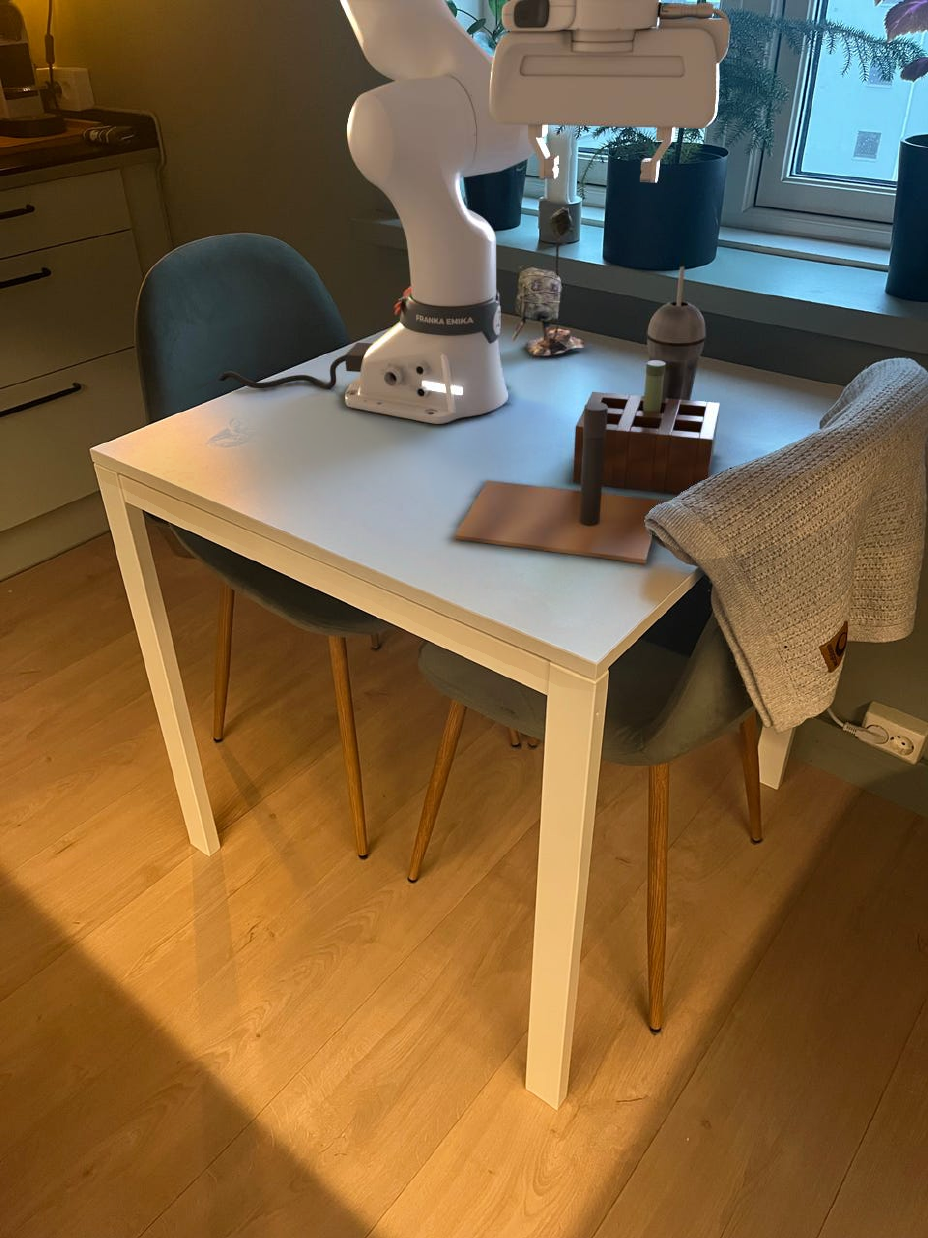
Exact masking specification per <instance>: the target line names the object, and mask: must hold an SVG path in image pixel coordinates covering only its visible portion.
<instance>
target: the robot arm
mask: <svg viewBox="0 0 928 1238" xmlns="http://www.w3.org/2000/svg"><path fill="white" fill-rule="evenodd" d="M339 1H340V3H341V6H342V8H343V10H344V13H345V15H346V17H347V19H348V21H349V23H350V26H351V28H352V30H353V33H354V35H355V37H356V39H357V42H358V44H359V47H360V48H361V51H362V52H363V55H364V57H365V59H366V60H367V61H368V63H369V64H370V65H371V66H372V68H374V69H375V70H376V71H377V72H378V73H379V74H381V75H382V76H385V77H386V78H388V79H390V80H393V81H391V82H389V83H386V84H383V85H380V86H378V87H375V88H373V89H370V90H368V91H366V92H363V93H361V94H359V95H358V97H357V98H356V99H355V101H354V103H353V105H352V107H351V110H350V112H349V116H348V121H347V125H346V126H347V127H346V130H347V131H346V134H347V135H346V137H347V144H348V149H349V152H350V156H351V158H352V160H353V162H354V164H355V166H356V168H357V169H358V170H359V172H360V173H361V174H362V176H364V178H365V179H366V180H367V181H369V182H370V183H371V184H372V185H375V186H376V187H377V188H378V189H379V190H381V192H383V194H384V195H385V196H386V197H387V198H388V200H389V201H390V203H391V204H392V205H393V208H394V209H395V211H396V213H397V215H398V217H399V220H400V222H401V223H402V227H403V231H404V235H405V239H406V246H407V254H408V255H407V257H408V266H409V276H410V286H409V287H408V288H407V289H405V291H404V292H403V296H401V297H400V298H398V300H397V301H398V302H397V303H396V304H395V305H394V309H395V311H394V315H395V316H397V315H398V318H399V321H397V323H396V324H394V325H393V326H392V327H391V328H389V329H388V330H387V331H386V332H385V333H384V334H382V335H381V336H380V337H379V338H378V339H376V340H375V341H374V342H359V341H358V342H356V343H355V344H354V345H353V346H352V347H351V348H350V349H349V350H348V351H347V352H346V353H345V354H343V355H341V356H339V357H337V358H335V360H333V362H332V363H331V364H330V366H329V367H330V368H329V377H330V380H329V382H327V383H326V382H324V381H322V380H319V379H318V378H317V377H313V376H312V375H307V374H295V375H288V376H284V377H282V378H278V379H274V380H270V381H263V382H255V381H251V380H249V379H247V378H245V377H244V376H242V375H241V374H239V373H237V372H234V371H230V370H228V371H226V372H223V373H222V374H221V375H220V376H219V377H218V379H217V381H219V382H224V381H226V380H227V379H229V378H232V379H234V380H235V381H237V382H239V383H240V384H242V385H243V386H246V387H249V388H251V389H270V388H275V387H277V386H278V387H279V386H281V385H284V384H289V383H293V382H302V381H303V382H308V383H311V384H314V385H315V386H317V387H319V388H323V389H327V390H331V389H332V388H334V387H335V385H337V368H338V367H339V365H341V364H342V363H344V362H345V371H346V372H350V373H351V372H352V373H360V374H359V376H358V377H356V378H355V379H354V380H353V381H352V382H351V383H350V384H349V385H348V387H347V388H346V391H345V393H344V394H345V395H344V402H345V405H346V406H347V407H348V408H351V409H356V410H361V411H367V412H372V413H377V414H383V415H387V416H393V417H397V418H402V419H408V420H414V421H419V422H424V423H429V424H435V425H442V424H447V423H451V422H452V421H455V420H457V419H458V420H459V419H461V418H467V417H474V416H479V415H483V414H486V413H489V412H493V411H494V410H497V409H499V408H500V407H502V406H503V405H505V404H506V402H507V401H508V399H509V397H510V396H509V391H508V389H507V385H506V382H505V381H506V380H505V378H504V373H503V368H502V361H501V355H500V346H499V345H500V344H499V337H500V332H501V323H502V321H501V315H502V313H501V311H502V309H501V305H500V293H499V291H498V290H497V237H496V234H495V231H494V229H493V227H492V225H491V224H490V223H489V222H488V220H486V219H485V218H484V217H483V216H481V215H480V214H478V213H477V212H475V211H473V210H470V209H469V208H467V206H466V205H465V202H464V200H463V195H462V192H461V183H460V182H461V179H462V178H468V177H475V176H479V175H487V174H492V173H499V172H502V171H504V170H507V169H509V168H512V167H515V166H516V165H518V164H520V163H522V162H524V161H526V160H528V159H530V158H531V157H533V156H534V155H536V157H537V159H539V160H538V162H539V163H538V165H539V166H538V167H539V168H538V176H539V179H540V180H541V179H543V180H545V179H546V180H547V179H548V180H555V179H556V178H558V176H559V175H558V174H559V168H558V165H559V155H551V154H550V151H549V148H548V147H547V144H546V142H545V140H544V137H545V136H546V135H548V133H549V132H548V127H549V126H569V127H610V128H611V127H613V128H614V127H615V128H622V127H623V128H656V133H655V135H656V136H655V140H656V142H661V144H660V145H659V147H658V148H657V150H656V151H655V152H654V155H653V156H652V158H650V157H648V158H645V157H644V158H643V159H642V160H641V163H640V171H641V174H640V175H639V182H640V183H654V184H655V183H657V182H658V179H659V172H660V161H661V159H662V158H663V156H664V155H665V153H666V152H667V150H668V148H669V147H670V145H671V144H672V142H673V140H674V139H675V131H676V129H706V128H707V127H708V126H709V125H710V124H712V123H713V121H714V120H715V118H716V117H717V114H718V106H719V91H720V63H721V62H722V61H723V60H724V59H725V57H726V54H727V52H728V49H729V43H730V42H729V41H730V34H731V24H730V20H729V18H728V16H727V14H726V13H725V12H724V11H722V9H719V8H715V4H714V3H710V2H698V3H682V2H661V0H508V1H506V2H505V3H504V4H503V6H502V9H501V23H502V24H501V25H502V27H503V28H504V29H505V30H506V31H508V32H507V33H505V34H504V35H502V36H501V38H500V39H499V40H498V42H497V43H496V47H495V49H494V52H493V56H492V55H491V54H490V53H488V52H487V51H486V50H485V49H484V48H483V47H482V46H481V45H480V44H479V43H478V42H477V41H476V39H474V38H473V37H472V35H471V34H469V33H468V31H467V30H466V29H465V28H464V27H463V26H462V24H461V23H460V22H459V20H458V19H457V18H456V16H455V15H454V13H453V12H452V11H451V9H450V8H449V5H448V3H447V2H446V0H339ZM714 15H716V16H718V17H719V18H713V17H714Z"/></svg>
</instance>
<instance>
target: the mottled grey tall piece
mask: <svg viewBox="0 0 928 1238" xmlns="http://www.w3.org/2000/svg"><path fill="white" fill-rule="evenodd" d="M549 224H550V229H551V231H552V233H553V234H552V235H554V236H555V237H556V238H555V263H554V264H555V271H554V270H550V269H541V268H537V267H529V268H525V269H523V270H521V271H520V273H519V276H518V283H517V285H518V286H517V288H518V293H517V295H516V299H515V310H516V313H517V315H519V316H521V320H520V322H519V324H518V325H517V326H516V328H515V332H514V334H513V335H512V339H511V341H512V342H514V341H515V340H516V338H517V337H518V335H519V334H520V332H521V331H522V329H523V327H524V325H525V324H526V322H527V321H526V320H527V319H529V320H533V321H537V322H538V321H540V323H541V325H542V331H543V336H542V337H538V338H536V339H531V340H528V341H527V342H524V343H525V344H524V346H525V347H526V349H527V350H528V353H530V354H532V355H533V356H538V357H541V356H543V357H546V356H554V355H557V354H563V353H565V352H567V351H568V350H574V349H576V348H577V349H583V348H584V347H585V345H584V344H585V343H584V340H585V339H584V338H583V339H580V338H577V336H575V335H572V334H571V331H570V330H569V329H566V330H565V329H563V328H562V329H561V328H559V318H558V317H559V313H560V312H559V310H560V303H561V296H562V294H561V293H562V290H563V286H562V281H561V278H560V275H559V250H560V238H561V237H563V236H564V235H565V234H568V232H569V233H570V234H571V235H572V236H574V235H575V231H574V228H572V227H573V226H574V221H573V219H572V217H571V215H570V211H569V210H568V208H566V207H561V208H560V209H559V210H557V211H555V212H554V213H553V214H552V215H550V218H549ZM519 268H522V266H519ZM554 322H556V328H555V329H551V330H550V325H551V324H552V323H554Z"/></svg>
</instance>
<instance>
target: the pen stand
mask: <svg viewBox="0 0 928 1238" xmlns="http://www.w3.org/2000/svg"><path fill="white" fill-rule="evenodd" d="M591 402H600V403H604V404H606V405H607V406H608V412H607V427H606V435H605V449H604V464H603V479H602V487H610V488H611V487H612V488H620V489H628V490H637V491H645V492H655V493H665V494H673V495H680V493H681V492H683V491H685V490H687V489H689V488H690V487H691V486H693V485H695V484H697V483H698V482H700V481H702V480H705V479H707V478H708V477H709V478H710V474H711V468H712V462H713V458H714V451H715V442H716V436H717V428H718V422H719V414H720V407H721V403H720V402H713V401H704V400H703V401H701V400H691V399H690V400H680V399H668V398H662V400H661V409H660V413H656V412H645V411H643V403H644V395H633V394H625V393H624V394H622V393H610V392H602V391H601V392H599V391H592V392H591V394H590V396H589V398H588V400H587V403H591ZM587 403H586V404H587ZM583 425H584V409H583V410H582V413H581V414H580V417H579V419H578V421H577V423H576V425H575V430H574V431H575V434H574V436H575V437H574V451H573V452H574V455H573V474H572V476H573V477H572V483H575V484H581V473H582V454H583Z"/></svg>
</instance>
